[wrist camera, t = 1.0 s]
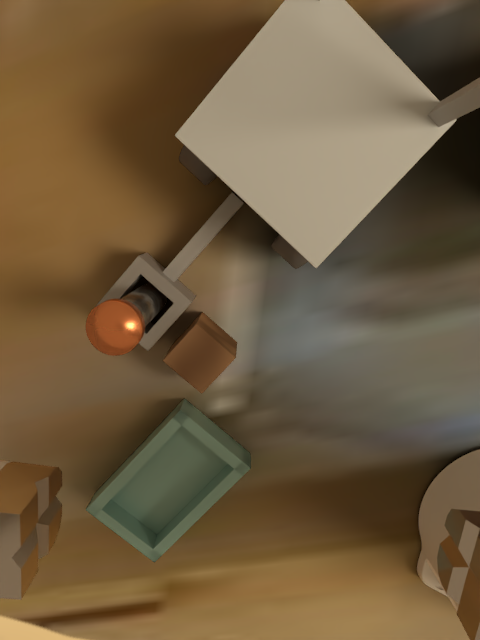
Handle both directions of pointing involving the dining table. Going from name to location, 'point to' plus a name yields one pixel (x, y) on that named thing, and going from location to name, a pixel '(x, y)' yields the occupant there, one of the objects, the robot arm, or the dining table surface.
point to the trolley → (302, 139)
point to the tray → (170, 481)
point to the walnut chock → (201, 353)
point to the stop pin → (124, 320)
